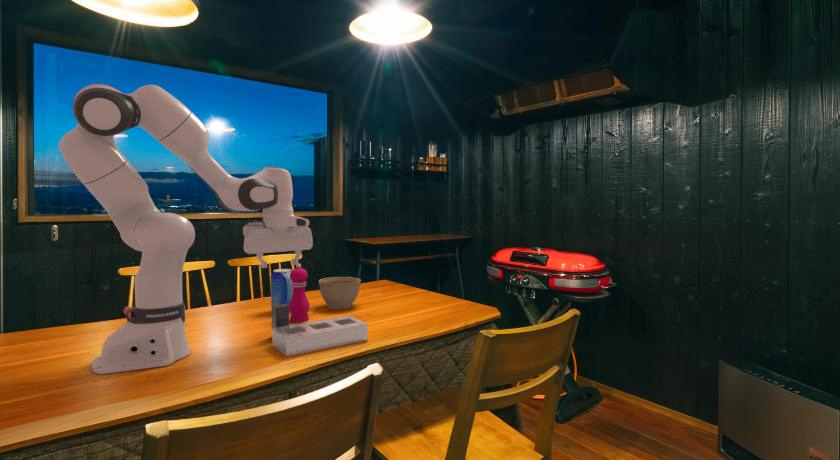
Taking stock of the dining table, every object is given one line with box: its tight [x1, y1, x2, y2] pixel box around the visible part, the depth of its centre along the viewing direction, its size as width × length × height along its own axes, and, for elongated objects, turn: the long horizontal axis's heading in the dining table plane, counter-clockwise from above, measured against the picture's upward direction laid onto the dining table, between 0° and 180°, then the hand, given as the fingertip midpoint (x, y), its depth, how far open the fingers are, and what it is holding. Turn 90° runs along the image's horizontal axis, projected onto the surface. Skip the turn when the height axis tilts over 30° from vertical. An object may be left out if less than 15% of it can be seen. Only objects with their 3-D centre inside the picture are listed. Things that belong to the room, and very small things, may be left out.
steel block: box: [271, 303, 290, 329], centre depth 139 cm, size 4×4×10 cm
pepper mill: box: [289, 263, 311, 323], centre depth 159 cm, size 7×7×20 cm
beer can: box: [270, 268, 293, 314], centre depth 170 cm, size 8×8×16 cm
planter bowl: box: [318, 276, 362, 310], centre depth 178 cm, size 16×16×11 cm
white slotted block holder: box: [271, 315, 369, 357], centre depth 135 cm, size 25×12×5 cm, turn 126°
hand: (279, 266), depth 138 cm, fingers open, 8 cm apart
